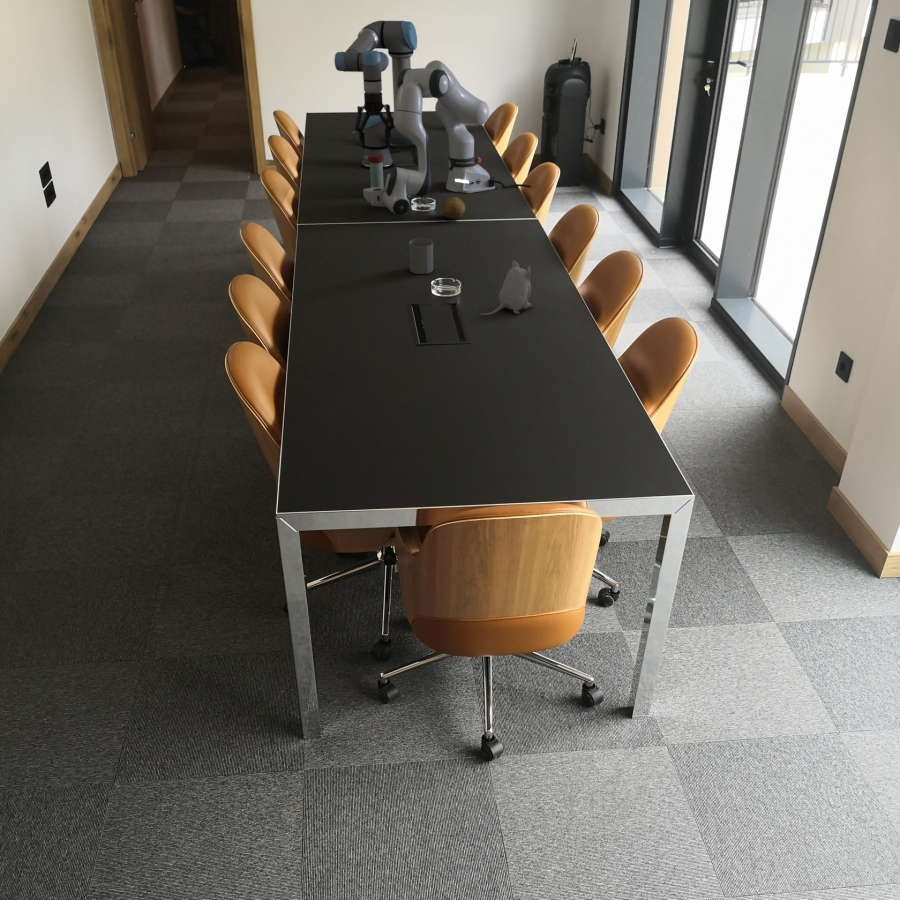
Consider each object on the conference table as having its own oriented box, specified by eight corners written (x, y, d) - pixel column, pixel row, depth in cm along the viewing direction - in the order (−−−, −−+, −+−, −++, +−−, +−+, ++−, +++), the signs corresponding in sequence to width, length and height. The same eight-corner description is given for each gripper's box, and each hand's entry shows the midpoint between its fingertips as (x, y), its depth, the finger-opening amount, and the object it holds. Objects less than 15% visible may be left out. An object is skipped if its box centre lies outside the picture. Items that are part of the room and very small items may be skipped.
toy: (538, 306, 281) (541, 262, 273) (491, 329, 266) (492, 282, 258) (517, 299, 286) (519, 255, 278) (469, 320, 271) (470, 275, 263)
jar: (384, 194, 387) (382, 155, 377) (383, 197, 382) (381, 158, 373) (371, 194, 387) (370, 155, 377) (370, 197, 382) (368, 158, 373)
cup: (409, 265, 311) (408, 238, 306) (432, 265, 312) (431, 238, 307) (410, 274, 304) (409, 246, 299) (433, 273, 305) (433, 246, 299)
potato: (463, 212, 364) (464, 193, 359) (466, 223, 352) (466, 203, 348) (440, 212, 363) (440, 193, 359) (442, 223, 351) (442, 204, 347)
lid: (383, 159, 379) (383, 153, 377) (382, 163, 373) (382, 157, 372) (369, 159, 379) (369, 153, 377) (368, 163, 373) (367, 157, 372)
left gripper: (396, 88, 367) (397, 142, 379) (344, 92, 360) (347, 147, 372) (401, 91, 361) (403, 146, 373) (349, 95, 354) (352, 151, 366)
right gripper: (415, 186, 363) (405, 177, 374) (367, 191, 358) (359, 182, 369) (415, 201, 367) (406, 192, 378) (368, 206, 361) (360, 197, 372)
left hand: (375, 146), depth 373 cm, fingers open, 10 cm apart
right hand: (382, 187), depth 373 cm, fingers open, 8 cm apart
